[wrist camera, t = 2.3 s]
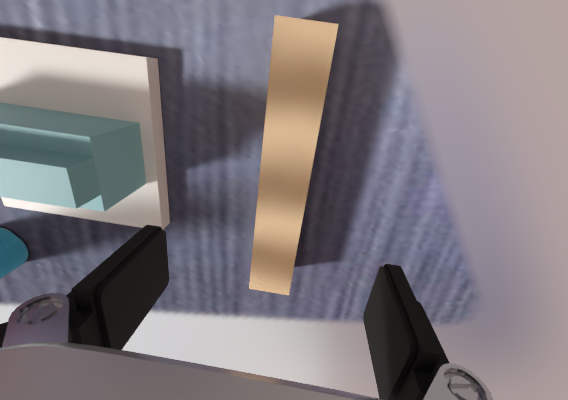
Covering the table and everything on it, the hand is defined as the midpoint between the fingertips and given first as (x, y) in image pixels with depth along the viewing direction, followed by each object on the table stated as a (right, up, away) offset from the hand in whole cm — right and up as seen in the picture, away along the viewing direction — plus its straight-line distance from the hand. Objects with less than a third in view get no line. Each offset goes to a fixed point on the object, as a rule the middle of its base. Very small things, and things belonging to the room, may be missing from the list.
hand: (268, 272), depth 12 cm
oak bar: (+1, +6, +11) cm, 12 cm away
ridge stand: (-17, +8, +11) cm, 22 cm away
